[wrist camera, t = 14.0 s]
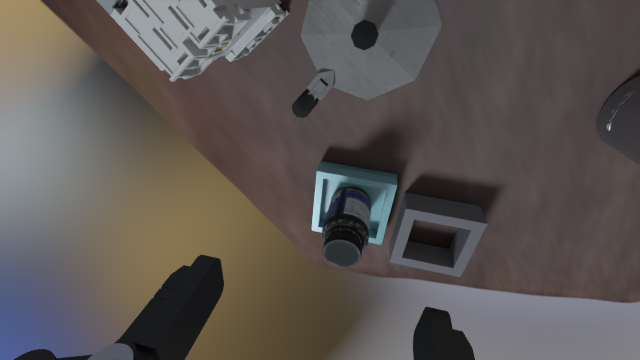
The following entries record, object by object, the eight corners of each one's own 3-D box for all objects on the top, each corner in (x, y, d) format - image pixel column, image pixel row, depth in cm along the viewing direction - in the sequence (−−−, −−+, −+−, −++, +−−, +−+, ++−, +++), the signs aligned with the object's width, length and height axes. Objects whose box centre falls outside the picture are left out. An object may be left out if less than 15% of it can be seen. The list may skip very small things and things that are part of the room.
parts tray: (397, 174, 42) (397, 185, 39) (381, 231, 48) (381, 244, 45) (321, 161, 43) (316, 171, 41) (315, 218, 49) (311, 230, 46)
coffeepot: (392, -80, 28) (394, -168, 13) (457, -4, 30) (523, -5, 15) (296, 51, 36) (228, 90, 21) (352, 104, 38) (326, 174, 23)
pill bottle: (340, 221, 47) (327, 275, 38) (325, 190, 44) (308, 240, 35) (377, 213, 45) (374, 268, 35) (364, 180, 42) (356, 230, 33)
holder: (480, 205, 42) (487, 223, 38) (455, 257, 47) (460, 277, 44) (404, 192, 43) (406, 208, 40) (389, 244, 49) (389, 262, 45)
